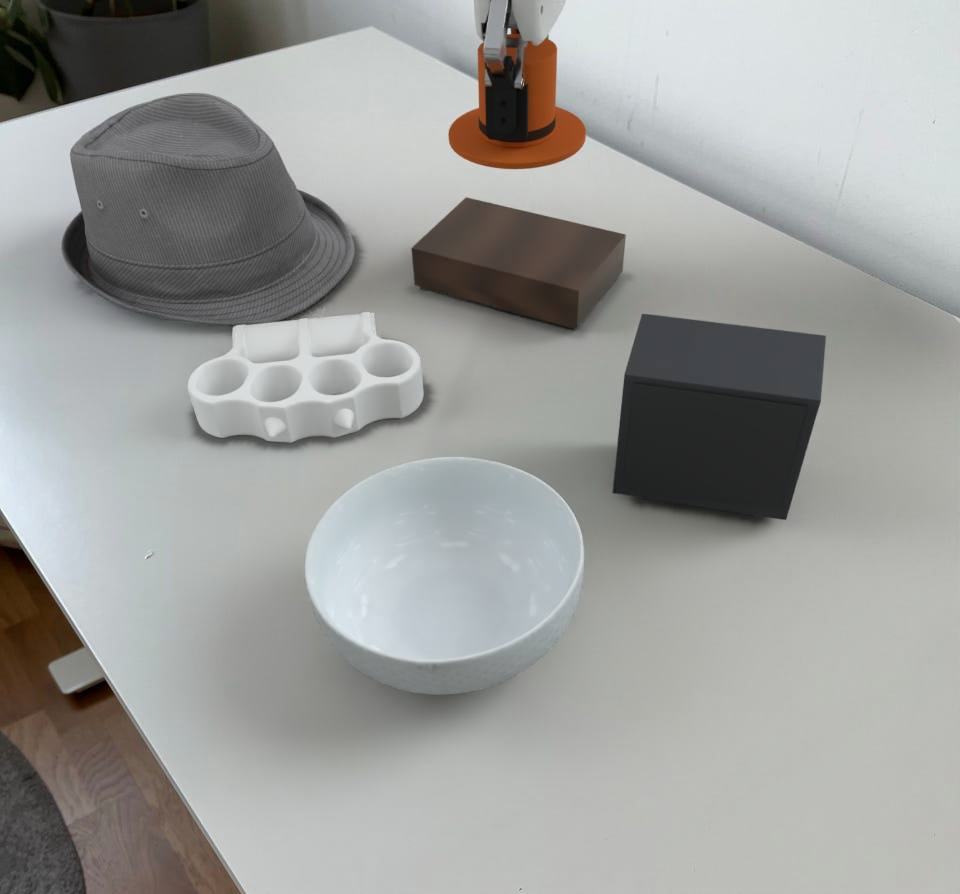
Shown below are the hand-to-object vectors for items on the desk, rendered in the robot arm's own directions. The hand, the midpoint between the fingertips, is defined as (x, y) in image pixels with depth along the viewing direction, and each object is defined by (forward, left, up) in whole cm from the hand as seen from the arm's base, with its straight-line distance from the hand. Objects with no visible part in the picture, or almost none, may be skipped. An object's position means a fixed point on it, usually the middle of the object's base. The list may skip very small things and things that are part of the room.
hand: (517, 118), depth 78 cm
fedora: (+26, -14, -14) cm, 33 cm away
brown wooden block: (0, 0, -14) cm, 14 cm away
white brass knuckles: (+21, +10, -14) cm, 27 cm away
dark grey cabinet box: (-4, +30, -14) cm, 34 cm away
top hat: (0, 0, -1) cm, 1 cm away
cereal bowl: (+17, +37, -14) cm, 43 cm away
